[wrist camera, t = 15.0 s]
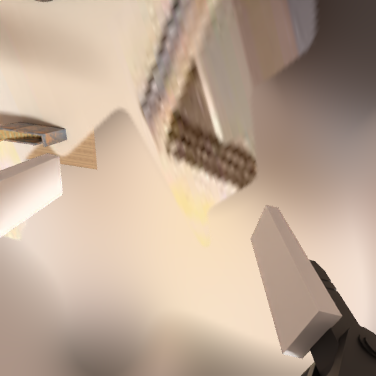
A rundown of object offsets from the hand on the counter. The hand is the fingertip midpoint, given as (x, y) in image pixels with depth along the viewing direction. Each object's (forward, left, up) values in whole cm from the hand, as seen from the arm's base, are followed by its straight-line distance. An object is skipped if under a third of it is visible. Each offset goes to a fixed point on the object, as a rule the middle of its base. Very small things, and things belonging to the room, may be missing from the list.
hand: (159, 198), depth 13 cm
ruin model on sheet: (-28, -24, -35) cm, 51 cm away
